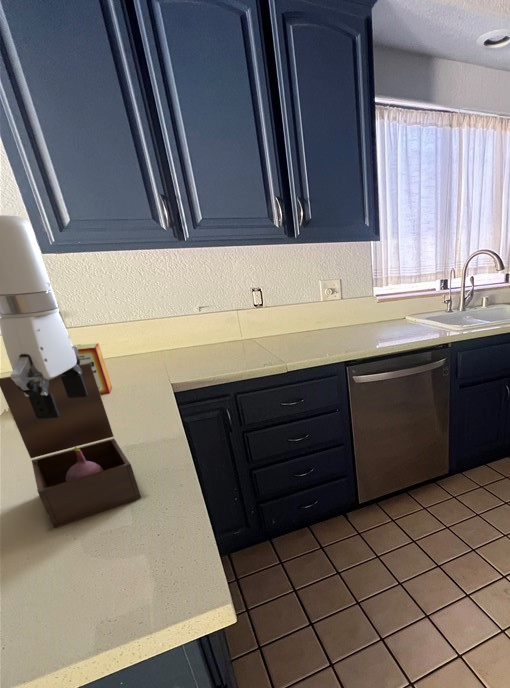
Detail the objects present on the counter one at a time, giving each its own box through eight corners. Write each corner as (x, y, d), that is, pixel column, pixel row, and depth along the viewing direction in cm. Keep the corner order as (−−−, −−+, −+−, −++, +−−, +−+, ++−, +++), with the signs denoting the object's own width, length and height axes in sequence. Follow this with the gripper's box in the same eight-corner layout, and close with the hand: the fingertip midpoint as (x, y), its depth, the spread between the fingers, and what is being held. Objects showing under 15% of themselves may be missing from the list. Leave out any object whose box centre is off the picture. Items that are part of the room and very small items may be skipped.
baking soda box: (112, 387, 149) (98, 342, 142) (109, 393, 144) (95, 346, 137) (80, 391, 146) (64, 345, 139) (77, 397, 140) (60, 349, 133)
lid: (90, 363, 86) (86, 358, 89) (-4, 379, 77) (-4, 373, 81) (113, 436, 93) (109, 429, 96) (30, 458, 84) (29, 450, 88)
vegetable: (115, 485, 89) (101, 442, 85) (92, 501, 83) (75, 457, 79) (90, 482, 90) (74, 440, 86) (65, 499, 84) (47, 454, 80)
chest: (141, 497, 86) (130, 464, 82) (53, 528, 77) (37, 492, 74) (124, 468, 97) (114, 438, 93) (45, 492, 88) (31, 459, 85)
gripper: (33, 297, 73) (66, 391, 81) (-41, 315, 58) (8, 429, 65) (80, 296, 74) (109, 388, 82) (19, 312, 59) (61, 425, 66)
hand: (64, 406), depth 74 cm, fingers open, 9 cm apart
